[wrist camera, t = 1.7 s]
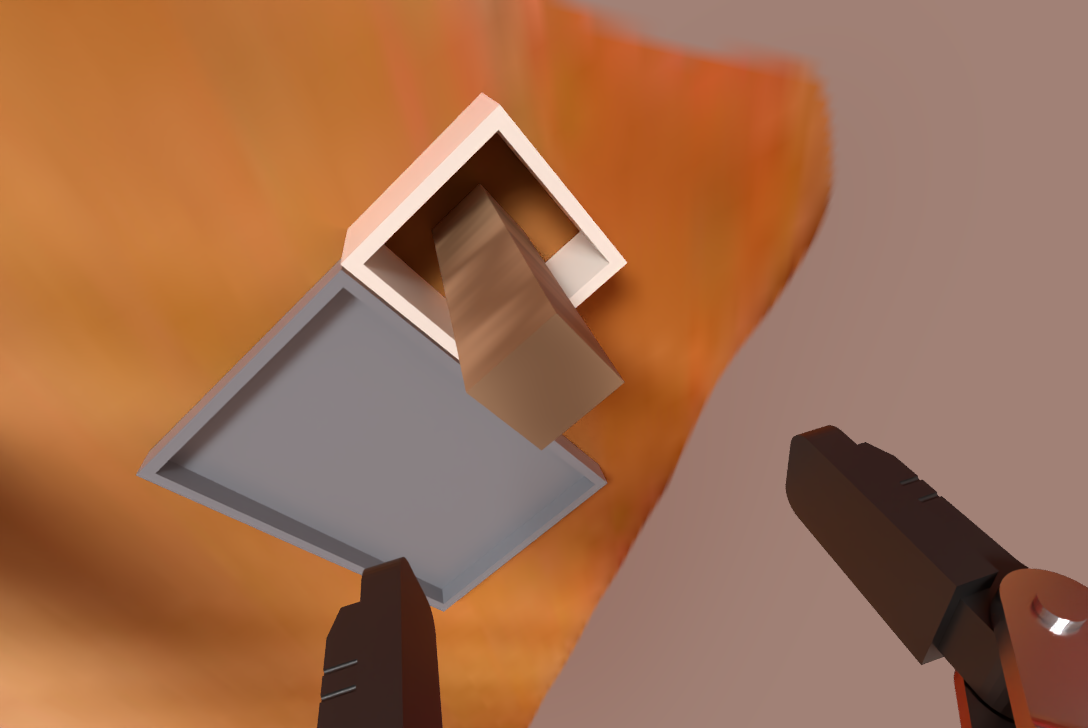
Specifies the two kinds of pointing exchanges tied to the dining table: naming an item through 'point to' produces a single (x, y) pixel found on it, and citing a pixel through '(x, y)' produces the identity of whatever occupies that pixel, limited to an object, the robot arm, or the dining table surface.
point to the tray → (369, 448)
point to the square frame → (364, 250)
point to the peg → (516, 325)
